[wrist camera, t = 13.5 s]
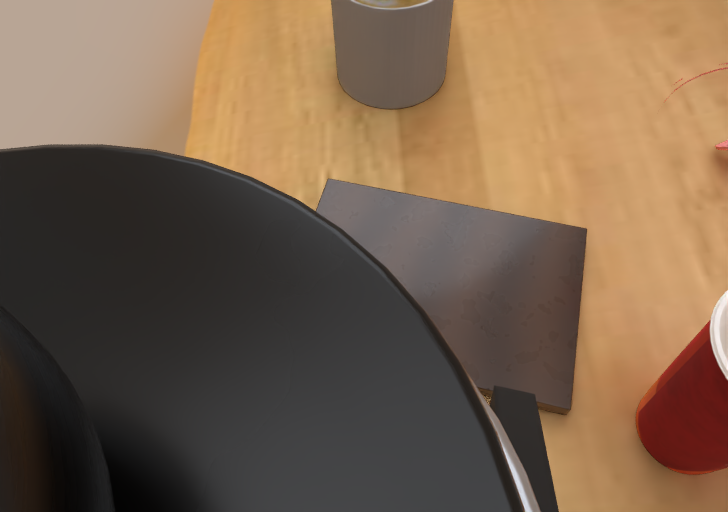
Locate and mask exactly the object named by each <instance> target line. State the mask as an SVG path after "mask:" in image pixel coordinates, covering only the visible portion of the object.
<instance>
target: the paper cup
mask: <svg viewBox="0 0 728 512" xmlns="http://www.w3.org/2000/svg"><path fill="white" fill-rule="evenodd" d="M636 427H637V431H638V434H639V437H640V439H641V441H642V443H643V445H644V446H645V448H646V449H647V451H648V452H649V453H650V454H651V455H652V456H653V457H654V458H655V459H656V460H657V461H658V462H660V463H661V464H662V465H664V466H666V467H667V468H669V469H671V470H674V471H676V472H679V473H684V474H693V475H696V474H704V473H709V472H713V471H717V470H721V469H724V468H727V467H728V290H727V291H726V292H725V294H724V295H723V296H722V297H721V298H720V299H719V301H718V302H717V304H716V306H715V307H714V310H713V313H712V316H711V320H710V321H709V322H708V323H707V324H706V325H705V327H704V328H703V329H702V330H701V331H700V332H699V333H698V334H697V336H696V337H695V338H694V339H693V340H692V341H691V342H690V343H689V344H688V346H687V347H686V348H685V349H684V350H683V351H682V352H681V353H680V355H679V356H678V357H677V358H676V359H675V360H674V361H673V363H672V364H671V365H670V366H669V367H668V368H667V369H666V371H665V372H664V373H663V374H662V375H661V376H660V378H659V379H658V380H657V381H656V382H655V383H654V384H653V386H652V387H651V388H650V389H649V391H648V392H647V393H646V394H645V396H644V397H643V399H642V400H641V402H640V404H639V406H638V409H637V413H636Z"/></svg>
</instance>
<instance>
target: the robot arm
mask: <svg viewBox="0 0 728 512" xmlns="http://www.w3.org/2000/svg"><path fill="white" fill-rule="evenodd" d="M490 407H491V409H492V410H493V412H494V413H495V415H496V416H497V418H498V419H499V421H500V423H501V425H502V427H503V429H504V431H505V432H506V434H507V436H508V438H509V440H510V442H511V444H512V446H513V448H514V450H515V452H516V454H517V456H518V458H519V460H520V462H521V464H522V466H523V468H524V470H525V471H526V474H527V476H528V479H529V482H530V484H531V487H532V490H533V492H534V495H535V498H536V500H537V503H538V506H539V508H540V511H541V512H559V511H558V506H557V501H556V496H555V491H554V486H553V481H552V476H551V471H550V466H549V461H548V456H547V451H546V446H545V441H544V436H543V431H542V426H541V421H540V416H539V411H538V407H537V402H536V397H535V394H532V393H528V392H523V391H519V390H514V389H509V388H505V387H500V386H495V385H494V388H493V393H492V397H491V402H490Z"/></svg>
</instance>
